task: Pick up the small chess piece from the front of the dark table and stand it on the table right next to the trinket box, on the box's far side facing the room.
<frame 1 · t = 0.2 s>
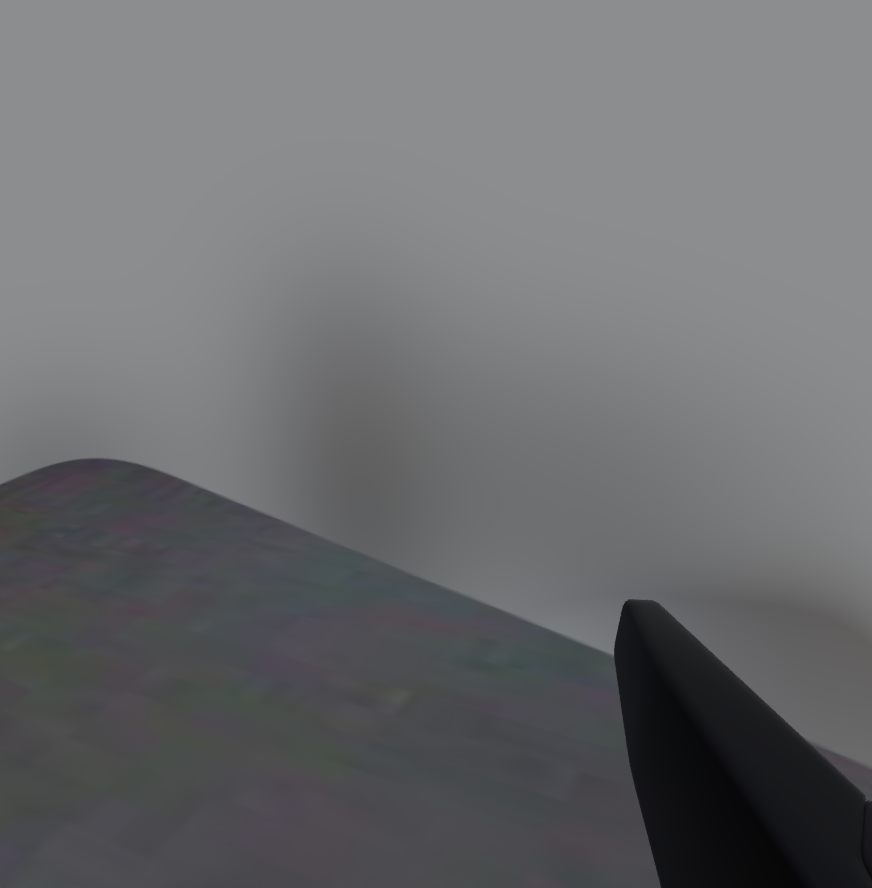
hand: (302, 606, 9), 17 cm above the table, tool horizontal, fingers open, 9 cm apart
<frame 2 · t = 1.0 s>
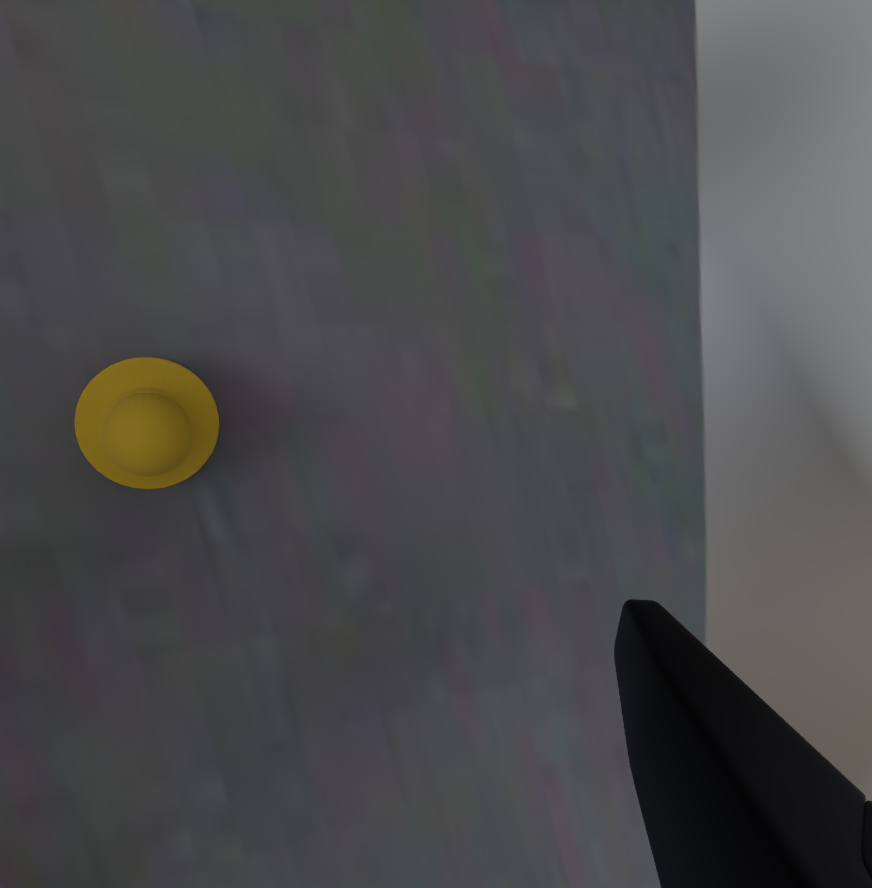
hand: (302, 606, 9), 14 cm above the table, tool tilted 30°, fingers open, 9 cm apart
chess piece: (150, 419, 21), on the table
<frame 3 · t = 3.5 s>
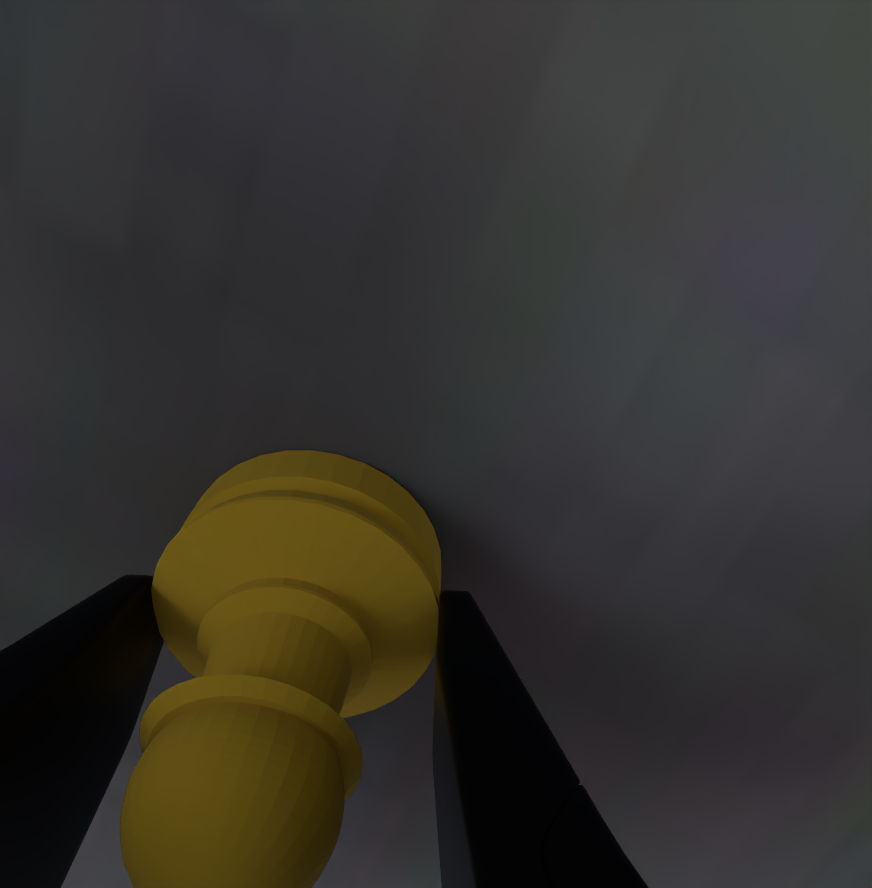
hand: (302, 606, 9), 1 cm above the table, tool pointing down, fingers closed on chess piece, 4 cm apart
chess piece: (317, 553, 10), on the table, touching gripper
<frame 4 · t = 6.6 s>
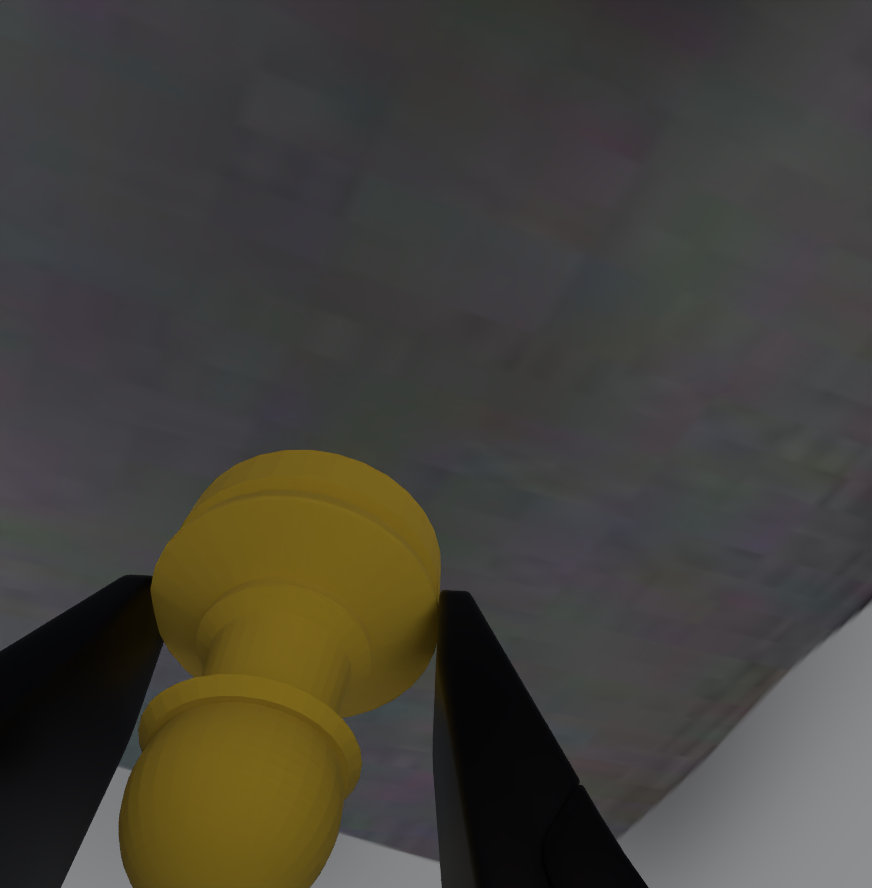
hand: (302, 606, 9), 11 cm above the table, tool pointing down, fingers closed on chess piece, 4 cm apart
chess piece: (317, 552, 10), point 10 cm above the table, touching gripper
when the fingers open (1 cm above the table, at t = 9.0 s): chess piece stays where it is, on the table.
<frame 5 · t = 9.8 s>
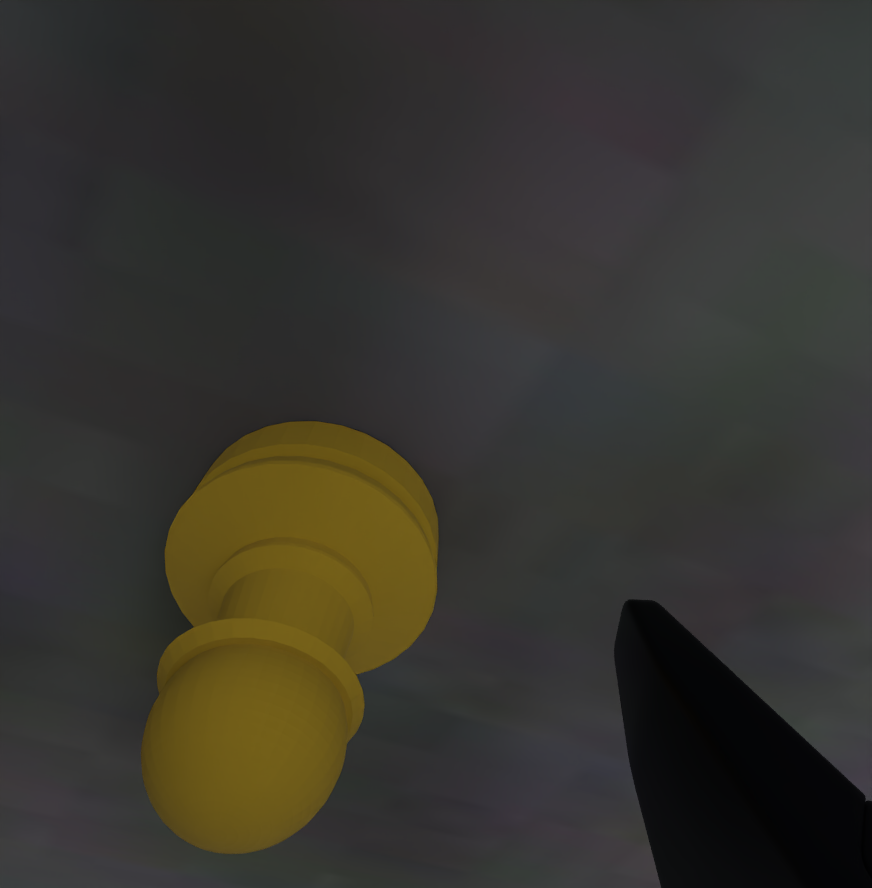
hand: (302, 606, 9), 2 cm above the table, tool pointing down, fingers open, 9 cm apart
chess piece: (321, 521, 11), on the table
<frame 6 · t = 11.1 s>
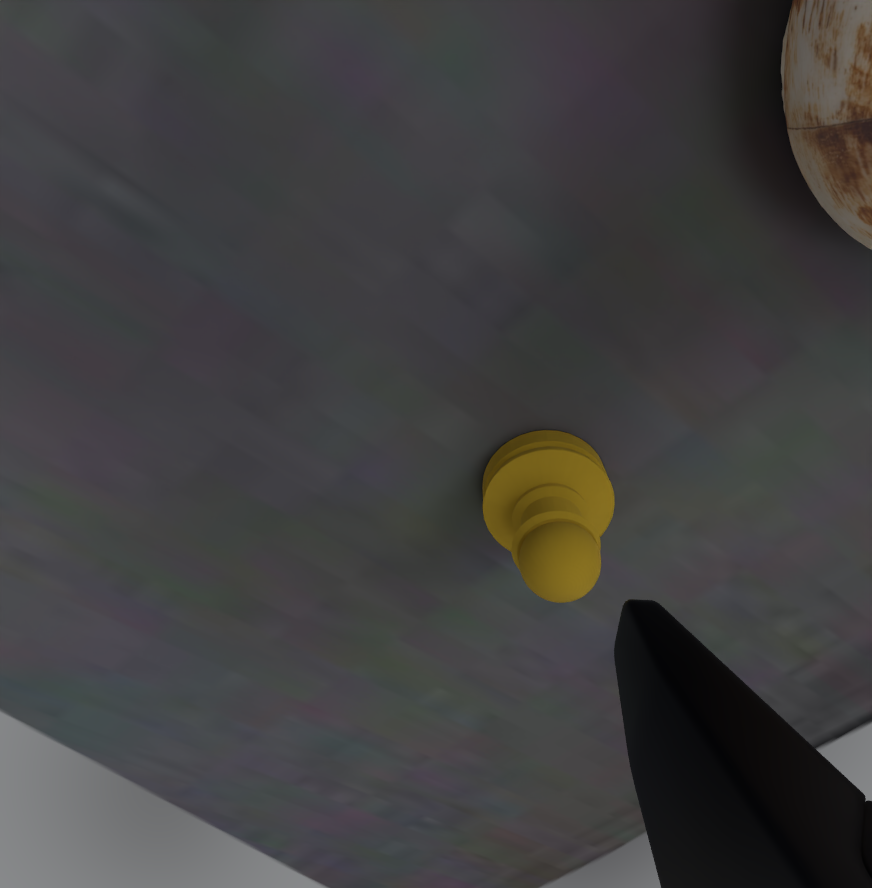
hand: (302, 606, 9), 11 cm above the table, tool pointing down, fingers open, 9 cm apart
chess piece: (543, 481, 21), on the table
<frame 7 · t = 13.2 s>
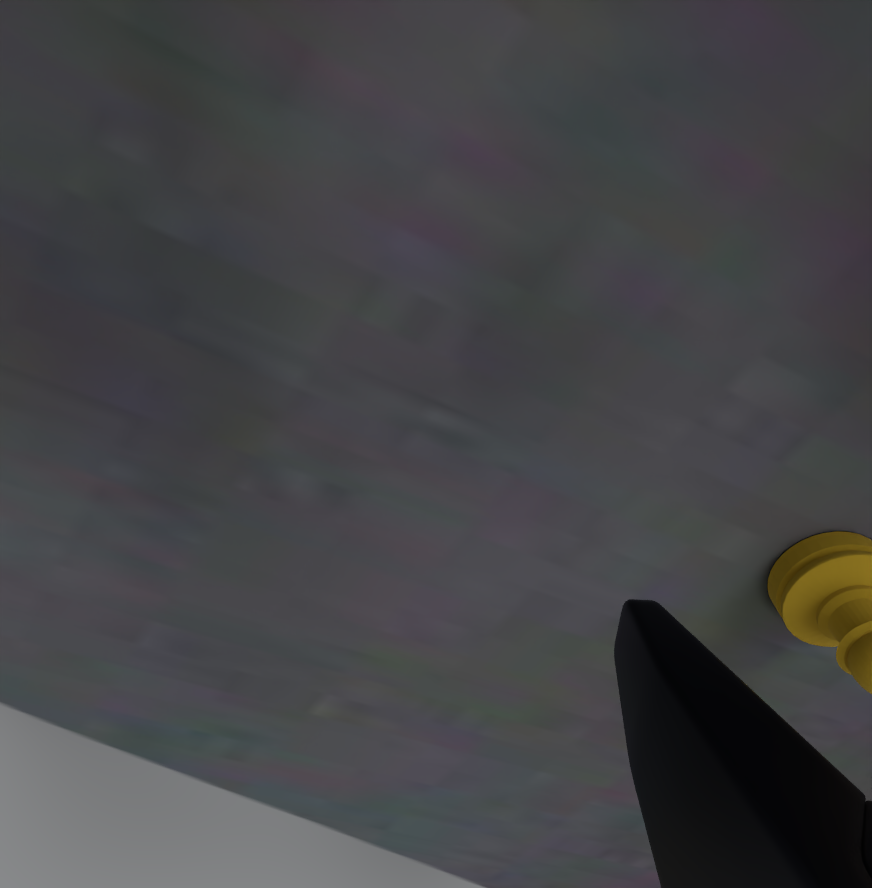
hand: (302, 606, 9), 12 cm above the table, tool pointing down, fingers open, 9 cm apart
chess piece: (822, 573, 23), on the table
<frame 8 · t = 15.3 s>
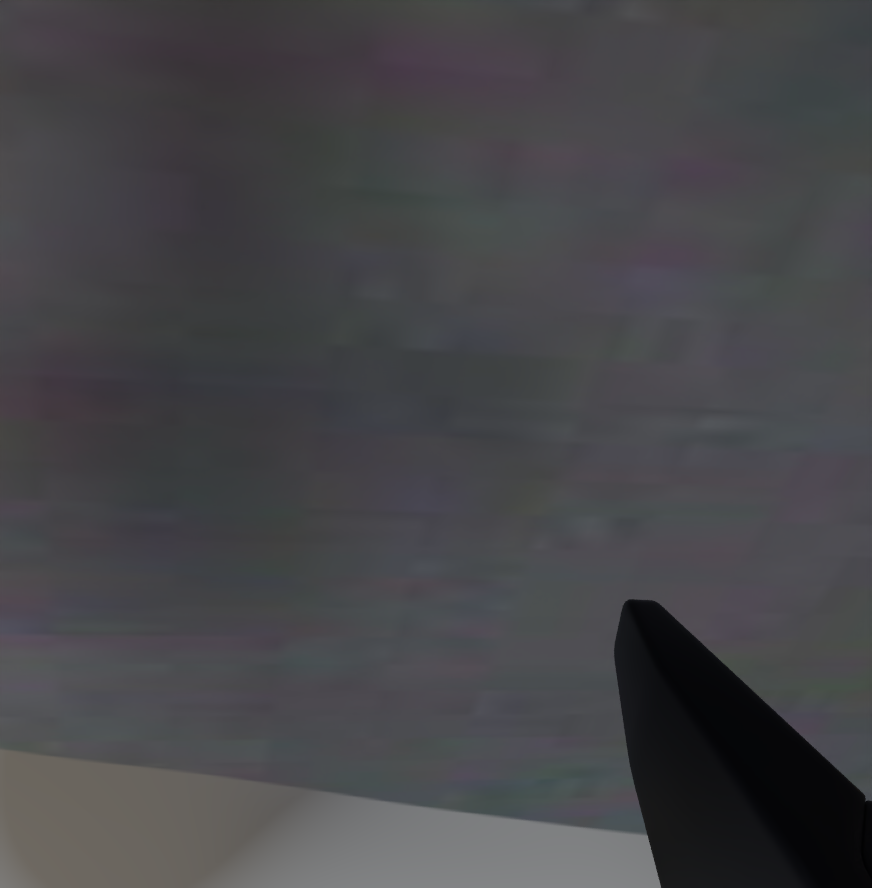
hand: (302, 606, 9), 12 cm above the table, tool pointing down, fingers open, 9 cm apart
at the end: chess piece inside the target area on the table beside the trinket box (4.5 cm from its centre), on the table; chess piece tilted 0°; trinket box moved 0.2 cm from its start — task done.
